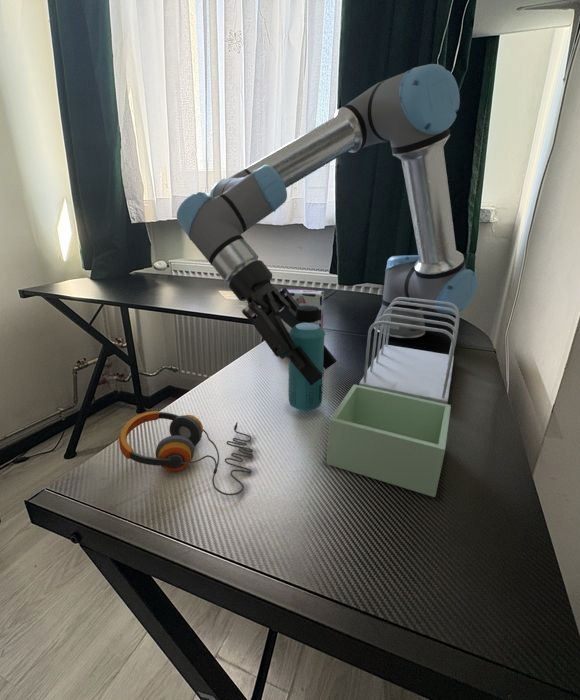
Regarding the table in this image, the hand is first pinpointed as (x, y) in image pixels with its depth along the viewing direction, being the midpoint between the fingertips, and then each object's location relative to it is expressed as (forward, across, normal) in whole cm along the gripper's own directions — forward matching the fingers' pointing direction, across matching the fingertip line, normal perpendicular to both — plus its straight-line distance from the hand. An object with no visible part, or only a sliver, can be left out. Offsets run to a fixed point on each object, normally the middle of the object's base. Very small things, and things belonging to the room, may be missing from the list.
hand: (324, 372), depth 67 cm
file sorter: (+15, -25, +3) cm, 29 cm away
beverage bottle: (+4, 0, -9) cm, 9 cm away
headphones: (-3, +21, -16) cm, 26 cm away
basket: (+15, +7, +4) cm, 17 cm away
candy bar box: (-5, -25, -17) cm, 31 cm away
